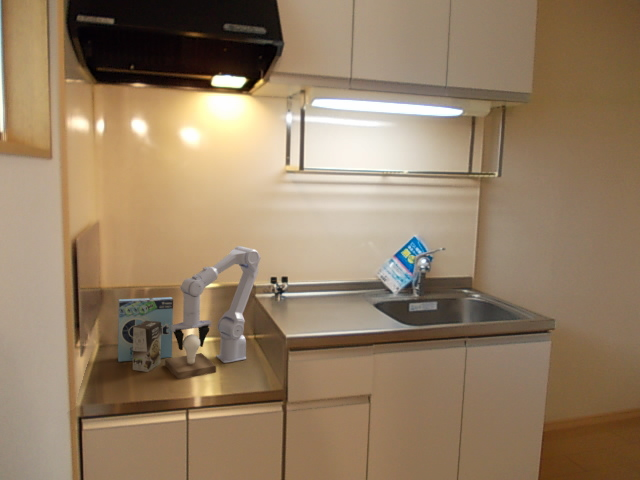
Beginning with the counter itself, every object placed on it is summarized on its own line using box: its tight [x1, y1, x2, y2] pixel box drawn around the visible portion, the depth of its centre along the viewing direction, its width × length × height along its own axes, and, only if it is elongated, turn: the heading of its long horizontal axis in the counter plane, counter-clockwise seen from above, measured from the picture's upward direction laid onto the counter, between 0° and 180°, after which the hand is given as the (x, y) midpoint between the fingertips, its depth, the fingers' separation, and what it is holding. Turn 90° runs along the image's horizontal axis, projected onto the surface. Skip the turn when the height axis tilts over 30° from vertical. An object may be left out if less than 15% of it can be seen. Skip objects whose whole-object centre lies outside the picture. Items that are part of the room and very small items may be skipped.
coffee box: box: [132, 321, 162, 373], centre depth 184 cm, size 9×6×16 cm
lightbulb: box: [183, 334, 200, 364], centre depth 183 cm, size 6×6×11 cm
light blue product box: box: [117, 296, 174, 363], centre depth 192 cm, size 20×5×23 cm, turn 113°
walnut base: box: [164, 352, 217, 380], centre depth 185 cm, size 14×14×2 cm
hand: (190, 347), depth 184 cm, fingers open, 7 cm apart
